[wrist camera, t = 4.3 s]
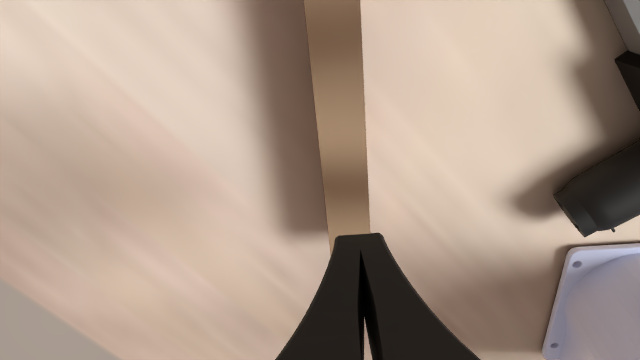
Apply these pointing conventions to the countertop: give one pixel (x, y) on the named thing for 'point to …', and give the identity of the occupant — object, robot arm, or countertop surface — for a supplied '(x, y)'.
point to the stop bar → (340, 112)
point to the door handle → (622, 168)
